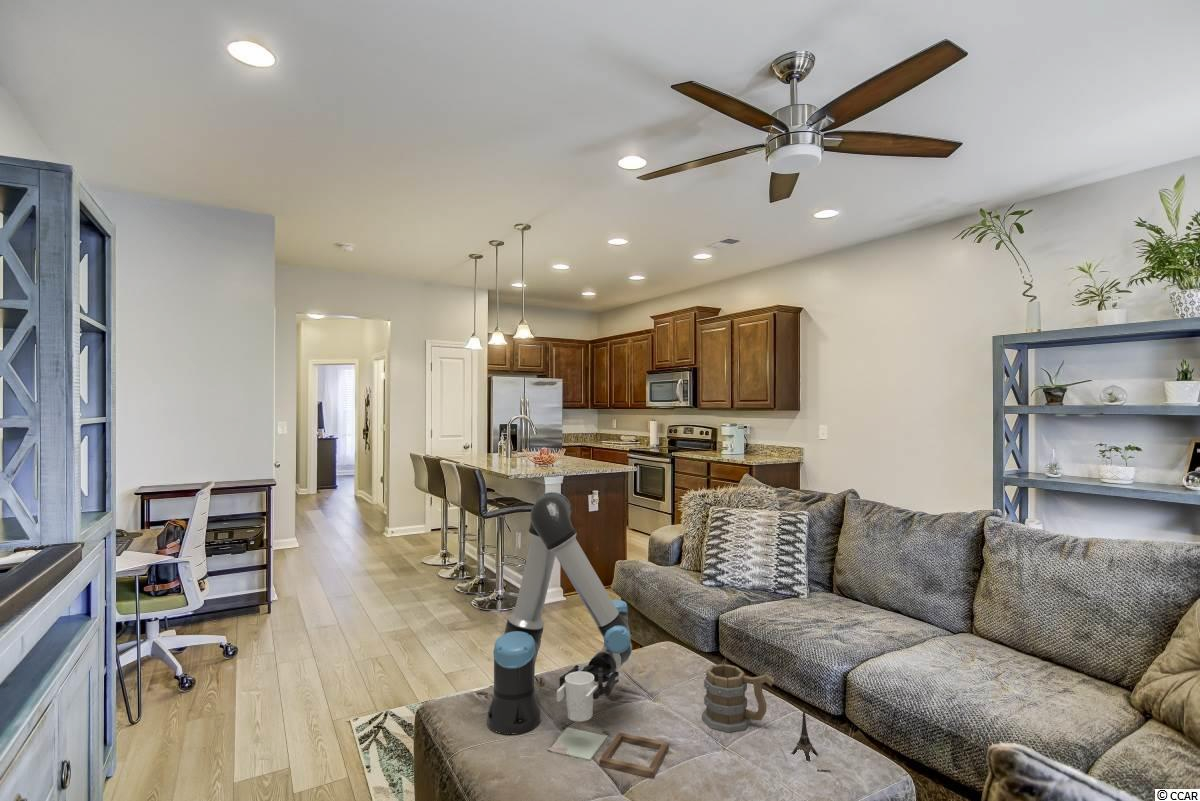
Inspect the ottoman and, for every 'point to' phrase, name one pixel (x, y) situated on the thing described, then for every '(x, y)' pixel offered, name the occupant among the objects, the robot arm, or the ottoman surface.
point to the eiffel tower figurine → (806, 743)
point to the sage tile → (581, 743)
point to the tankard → (731, 698)
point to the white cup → (578, 695)
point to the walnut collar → (629, 767)
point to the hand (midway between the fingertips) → (572, 698)
